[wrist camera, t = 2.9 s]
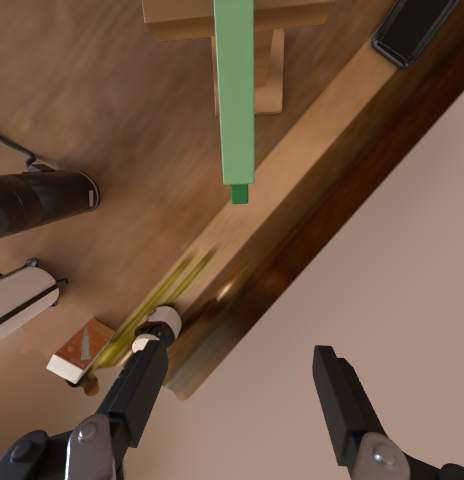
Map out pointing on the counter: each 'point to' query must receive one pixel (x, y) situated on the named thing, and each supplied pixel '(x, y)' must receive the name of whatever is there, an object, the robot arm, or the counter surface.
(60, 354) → the small box
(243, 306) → the counter surface
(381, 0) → the counter surface
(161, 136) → the counter surface
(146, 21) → the wooden pedestal stand
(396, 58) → the phone
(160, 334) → the spread jar
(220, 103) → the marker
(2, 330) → the coffee press
